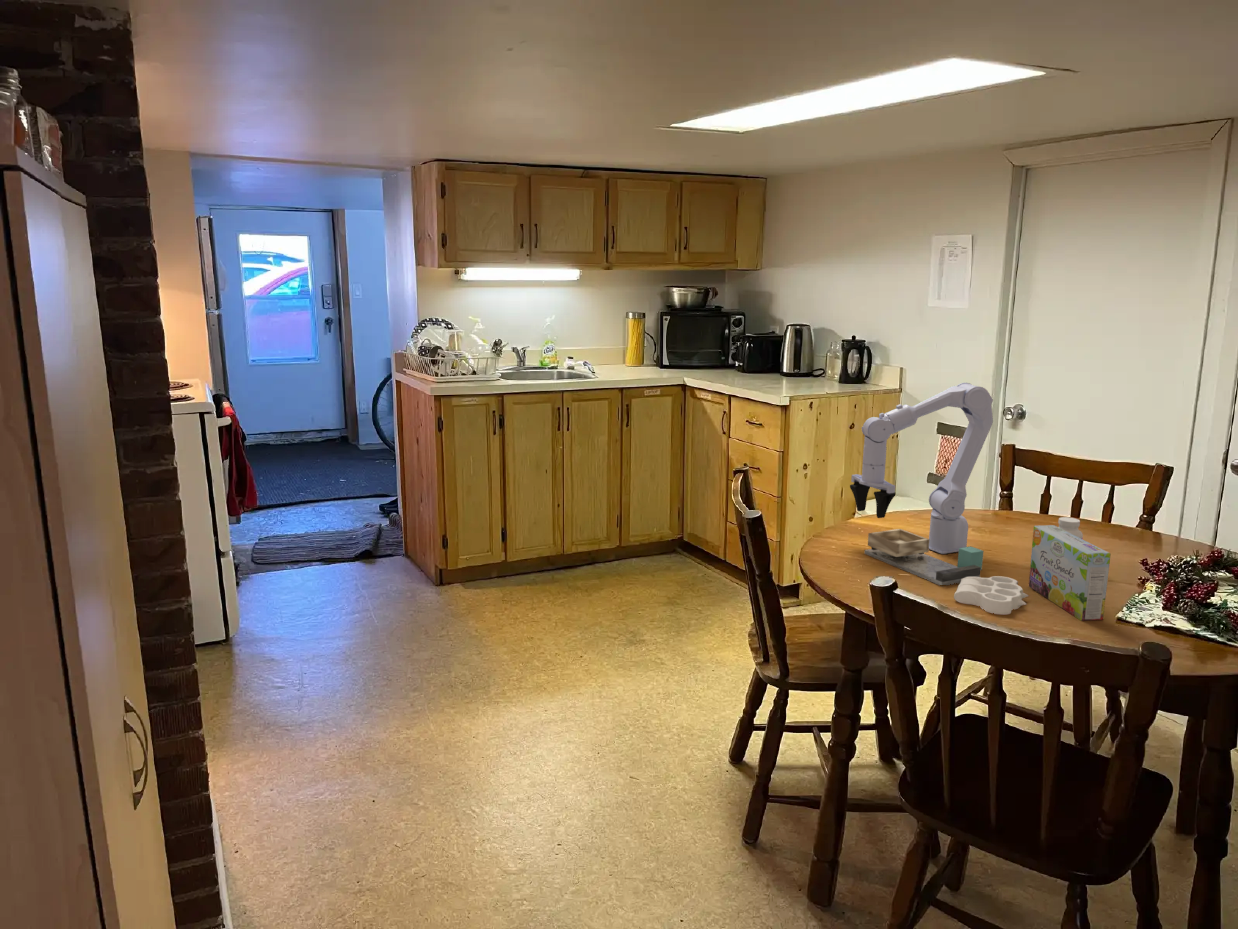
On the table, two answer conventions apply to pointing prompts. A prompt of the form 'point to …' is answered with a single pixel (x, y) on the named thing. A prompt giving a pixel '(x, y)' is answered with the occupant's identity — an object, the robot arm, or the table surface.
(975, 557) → the block
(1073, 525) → the supplement bottle
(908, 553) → the brown open box
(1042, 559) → the snack box
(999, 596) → the white paw tray
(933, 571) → the rail board
